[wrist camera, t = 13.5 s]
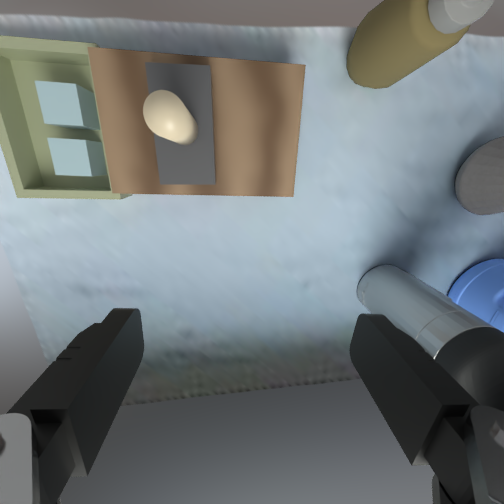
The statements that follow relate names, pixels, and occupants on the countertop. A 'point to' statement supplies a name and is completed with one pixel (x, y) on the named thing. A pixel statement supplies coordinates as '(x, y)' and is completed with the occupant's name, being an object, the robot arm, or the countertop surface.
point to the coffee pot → (482, 179)
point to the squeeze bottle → (407, 37)
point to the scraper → (181, 122)
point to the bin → (31, 119)
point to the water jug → (482, 292)
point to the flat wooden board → (224, 115)
